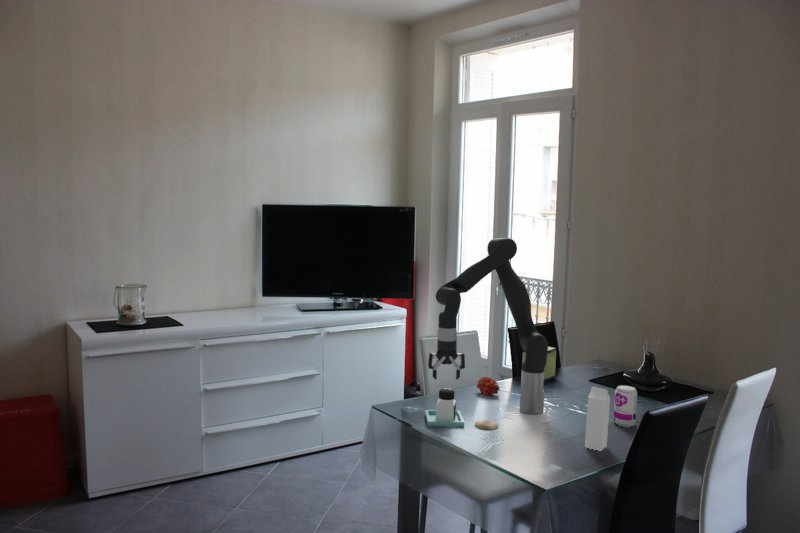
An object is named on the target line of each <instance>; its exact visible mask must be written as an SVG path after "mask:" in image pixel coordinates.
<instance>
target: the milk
mask: <svg viewBox="0 0 800 533" xmlns="http://www.w3.org/2000/svg"><path fill="white" fill-rule="evenodd" d="M608 392H609V390H608V389H605V388H602V387H601V388H600V387H596V386H591V389H590V393H589V394H588V397H587V410H586V423H585V424H586V425H585V437H584V439H585V440H584V441H585V442H584V448H585V447H586V448H585V449H587V448H589V449H588V450H591V449H594V450H593V451H595V450H598V451H597V452H599V451H602V450H603V449H604V448H605V447H606V448H607V447H608V446H607V445H608V435H609V434H608V432H609V418H610V404H611V403H610V401H611V396H610V395H609V393H608ZM606 448H605V449H606ZM605 449H604V450H605ZM604 450H603V451H604ZM603 451H602V452H603Z"/></svg>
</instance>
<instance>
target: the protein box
mask: <svg viewBox="0 0 800 533" xmlns="http://www.w3.org/2000/svg"><path fill="white" fill-rule="evenodd" d="M525 359H526V351H525V350H524V349H523V348H522V362H521V364H522V363H523V362H525ZM556 360H557V347H554V346H549V345H548V352H547V362H546V366H545V368H544V383H545V382H548V381H550V379H551V380H553V378H554V379H555V378H556V367H557V366H556V363H557V362H556Z"/></svg>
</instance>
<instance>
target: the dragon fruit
mask: <svg viewBox="0 0 800 533" xmlns="http://www.w3.org/2000/svg"><path fill="white" fill-rule="evenodd" d="M476 388H478V390H479V392H480V394H481V395H482V394H485V395H486V396H487V397H493V396H494V394H495V395H497V394H498V392H500V386H499V384H498V382H497V381H496V380H493V378H492V377H488V376H484V377H481V378H479V380H478V382H477V384H476Z"/></svg>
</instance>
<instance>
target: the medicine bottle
mask: <svg viewBox="0 0 800 533" xmlns="http://www.w3.org/2000/svg"><path fill="white" fill-rule="evenodd" d="M437 399H438V400H437V402H436V404H435V405H436V406H435V407H436V408H435V410H436V421H454V420H455V416H456V410H457V400H456V399H455V390H453V389H451V388H442V389H439V391H438V398H437Z"/></svg>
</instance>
